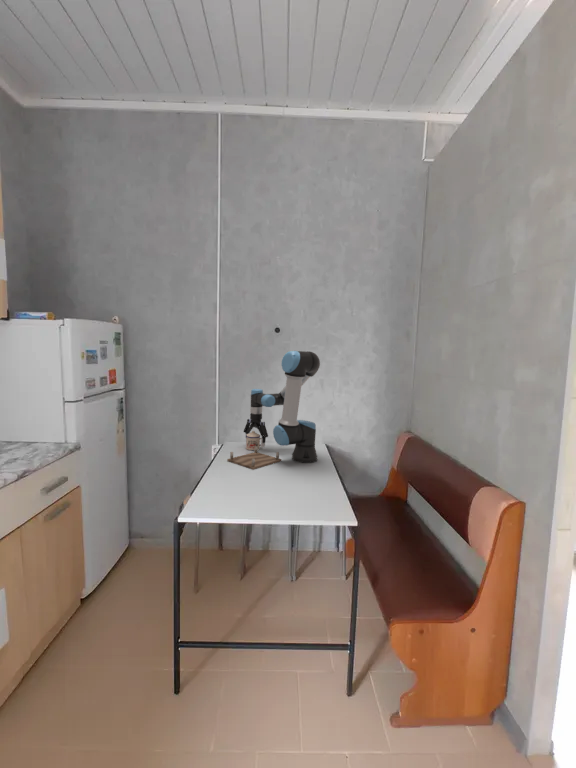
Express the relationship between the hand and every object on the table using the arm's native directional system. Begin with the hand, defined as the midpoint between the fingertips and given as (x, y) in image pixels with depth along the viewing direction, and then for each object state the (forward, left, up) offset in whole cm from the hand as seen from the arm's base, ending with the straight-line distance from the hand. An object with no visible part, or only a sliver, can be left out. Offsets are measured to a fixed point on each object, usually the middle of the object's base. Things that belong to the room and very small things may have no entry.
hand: (255, 445), depth 251 cm
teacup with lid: (0, 0, -2) cm, 2 cm away
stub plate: (-19, +19, -2) cm, 27 cm away
